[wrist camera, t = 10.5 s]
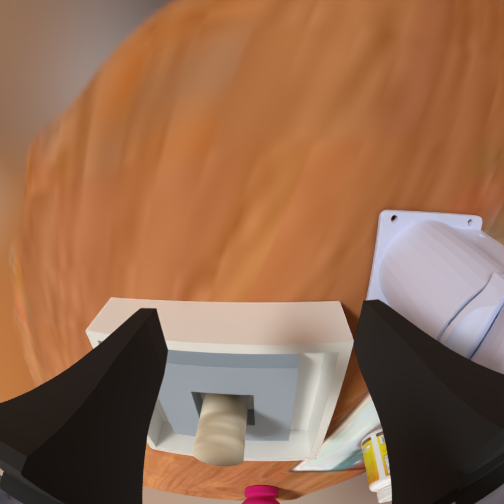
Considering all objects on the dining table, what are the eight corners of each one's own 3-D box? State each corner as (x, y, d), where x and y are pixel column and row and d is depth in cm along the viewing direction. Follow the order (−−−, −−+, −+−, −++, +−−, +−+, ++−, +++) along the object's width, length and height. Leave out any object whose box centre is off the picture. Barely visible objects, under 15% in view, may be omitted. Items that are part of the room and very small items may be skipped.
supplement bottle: (368, 447, 30) (378, 506, 21) (354, 437, 29) (365, 503, 19) (403, 432, 29) (419, 490, 19) (393, 420, 27) (411, 486, 18)
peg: (242, 378, 23) (235, 447, 16) (253, 403, 24) (249, 465, 18) (199, 381, 23) (184, 446, 17) (213, 405, 25) (203, 465, 18)
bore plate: (297, 349, 21) (298, 367, 19) (288, 425, 26) (288, 440, 24) (150, 343, 22) (142, 360, 20) (179, 419, 27) (175, 433, 25)
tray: (339, 300, 20) (353, 341, 16) (313, 426, 27) (315, 459, 23) (111, 297, 21) (85, 330, 17) (160, 419, 28) (151, 448, 24)
